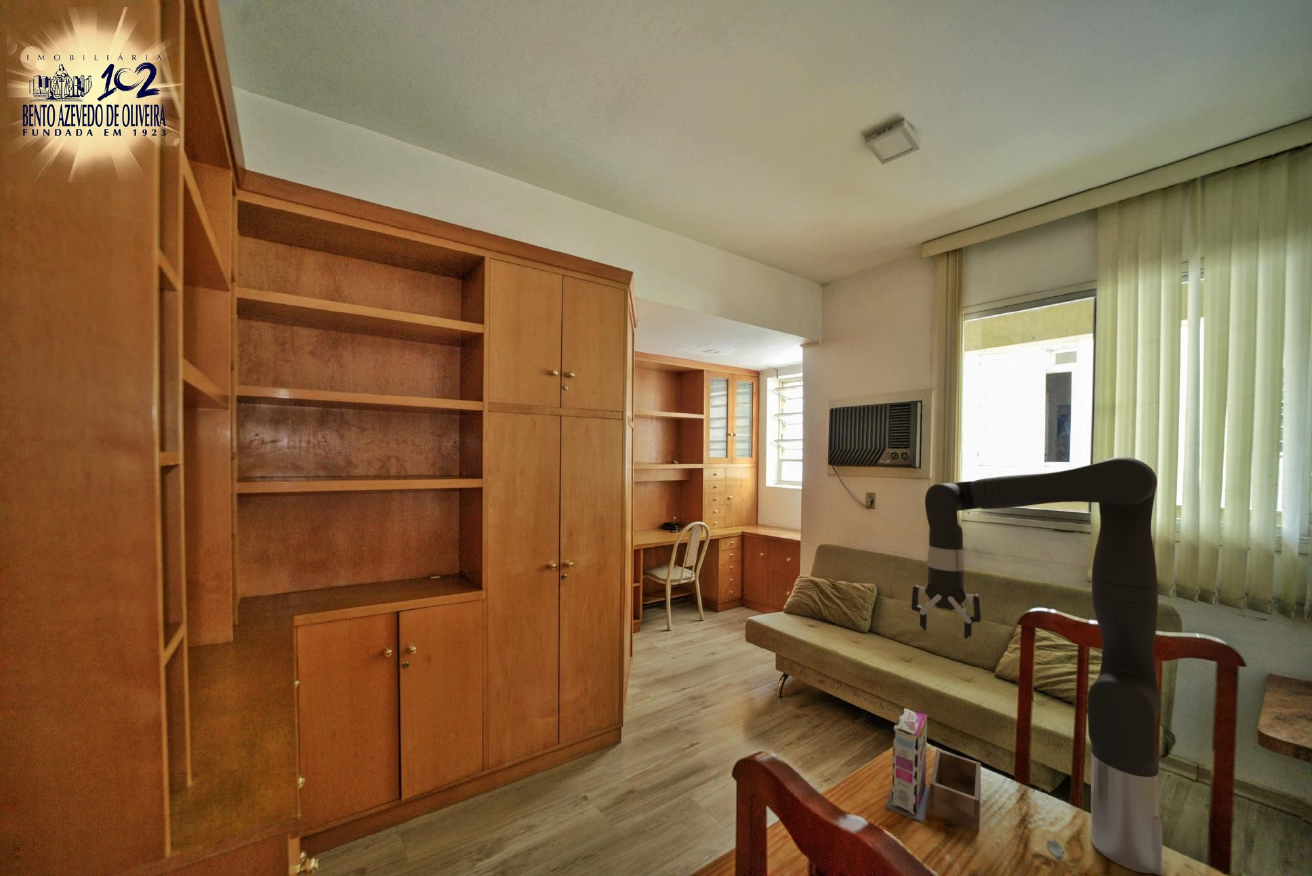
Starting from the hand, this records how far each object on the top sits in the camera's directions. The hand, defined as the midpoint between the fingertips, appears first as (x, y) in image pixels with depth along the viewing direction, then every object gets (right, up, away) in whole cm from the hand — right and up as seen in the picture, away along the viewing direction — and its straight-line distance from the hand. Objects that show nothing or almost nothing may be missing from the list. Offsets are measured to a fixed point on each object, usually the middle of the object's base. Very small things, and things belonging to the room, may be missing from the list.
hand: (945, 633), depth 116 cm
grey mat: (-15, -32, -11) cm, 36 cm away
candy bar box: (-14, -31, -11) cm, 36 cm away
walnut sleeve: (-4, -32, -11) cm, 34 cm away
